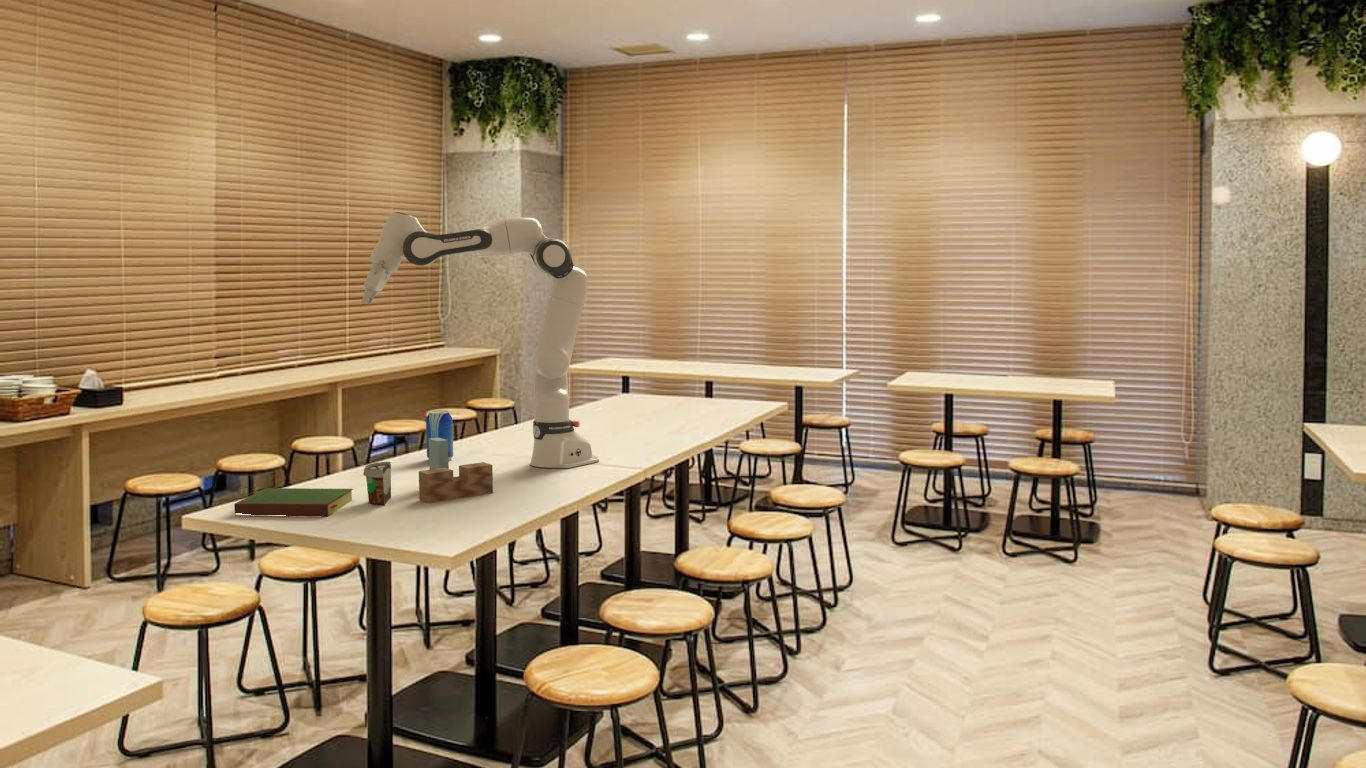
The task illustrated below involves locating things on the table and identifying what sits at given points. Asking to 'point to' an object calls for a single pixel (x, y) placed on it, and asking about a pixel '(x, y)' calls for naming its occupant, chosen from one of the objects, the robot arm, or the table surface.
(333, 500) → the hardcover book
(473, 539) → the table surface
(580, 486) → the table surface
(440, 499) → the notched wooden block
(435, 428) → the beer can
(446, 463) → the sage green pillar
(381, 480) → the food container
